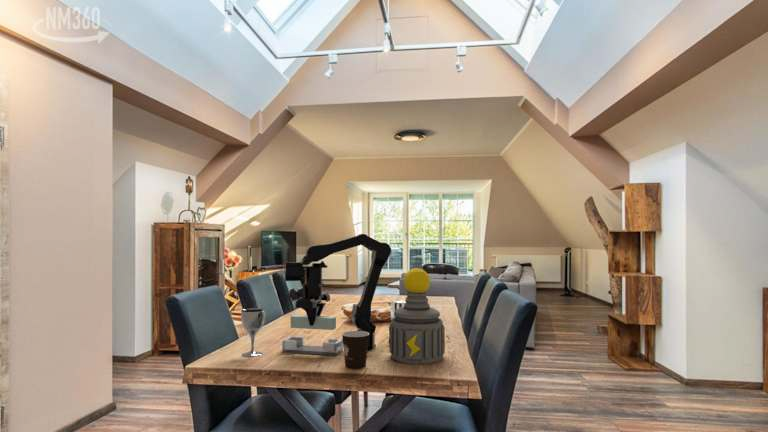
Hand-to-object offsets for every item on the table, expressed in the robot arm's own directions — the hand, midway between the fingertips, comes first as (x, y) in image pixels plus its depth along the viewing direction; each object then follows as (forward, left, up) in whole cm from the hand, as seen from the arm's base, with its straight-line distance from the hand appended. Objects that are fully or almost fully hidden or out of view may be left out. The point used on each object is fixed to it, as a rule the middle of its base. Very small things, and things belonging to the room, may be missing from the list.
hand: (313, 324), depth 150 cm
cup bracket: (0, 0, -9) cm, 9 cm away
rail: (0, 0, -1) cm, 1 cm away
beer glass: (-27, -24, -10) cm, 37 cm away
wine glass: (+19, +8, -10) cm, 23 cm away
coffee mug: (-19, +12, -10) cm, 24 cm away
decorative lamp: (-37, -1, -10) cm, 38 cm away
